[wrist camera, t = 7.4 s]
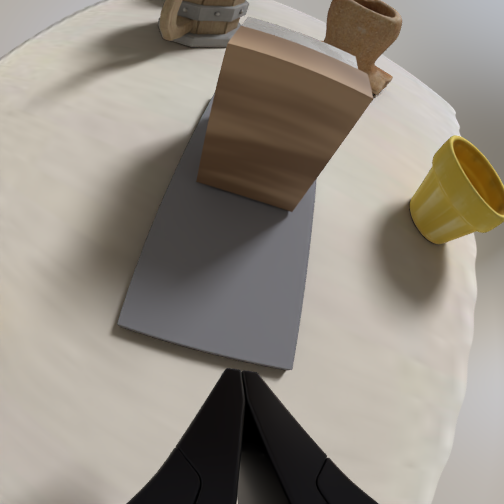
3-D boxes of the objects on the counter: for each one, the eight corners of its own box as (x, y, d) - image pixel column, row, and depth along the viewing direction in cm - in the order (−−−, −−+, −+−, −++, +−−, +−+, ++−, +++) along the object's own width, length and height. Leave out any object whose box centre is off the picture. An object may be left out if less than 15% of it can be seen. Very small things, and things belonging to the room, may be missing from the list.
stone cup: (291, 64, 37) (330, -18, 24) (310, 44, 43) (343, -22, 30) (382, 114, 38) (436, 43, 25) (385, 85, 44) (426, 26, 31)
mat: (286, 370, 20) (292, 369, 19) (119, 326, 18) (117, 323, 18) (316, 132, 32) (320, 126, 31) (214, 97, 30) (215, 91, 29)
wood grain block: (292, 212, 24) (373, 98, 13) (196, 181, 23) (227, 43, 12) (304, 117, 30) (354, 26, 19) (234, 93, 29) (267, -7, 18)
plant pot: (400, 168, 34) (447, 118, 25) (454, 212, 34) (503, 174, 25) (390, 227, 29) (454, 174, 20) (453, 274, 29) (516, 238, 20)
